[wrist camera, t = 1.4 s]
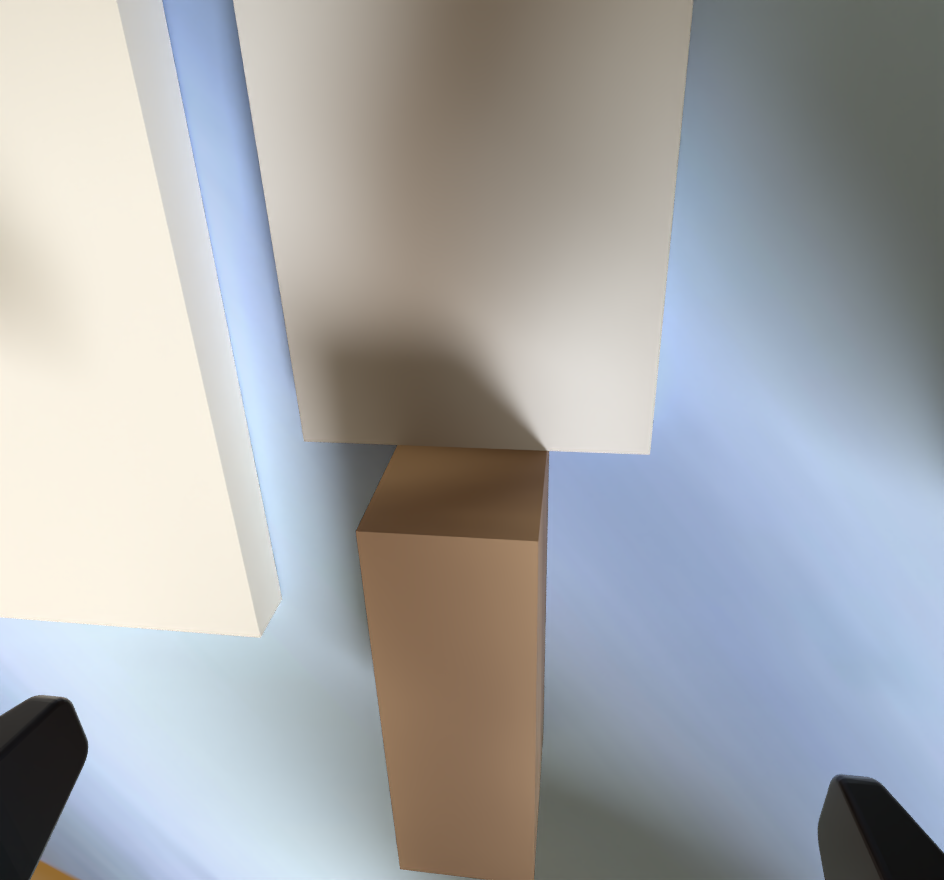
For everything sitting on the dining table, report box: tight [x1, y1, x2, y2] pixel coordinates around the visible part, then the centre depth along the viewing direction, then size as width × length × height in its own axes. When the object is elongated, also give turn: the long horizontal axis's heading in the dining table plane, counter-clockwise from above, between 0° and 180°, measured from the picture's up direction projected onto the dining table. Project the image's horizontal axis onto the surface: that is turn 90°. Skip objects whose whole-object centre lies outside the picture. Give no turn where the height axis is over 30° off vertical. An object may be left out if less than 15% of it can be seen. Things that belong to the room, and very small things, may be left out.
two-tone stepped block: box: [233, 0, 693, 880], centre depth 12 cm, size 6×15×4 cm, turn 2°
